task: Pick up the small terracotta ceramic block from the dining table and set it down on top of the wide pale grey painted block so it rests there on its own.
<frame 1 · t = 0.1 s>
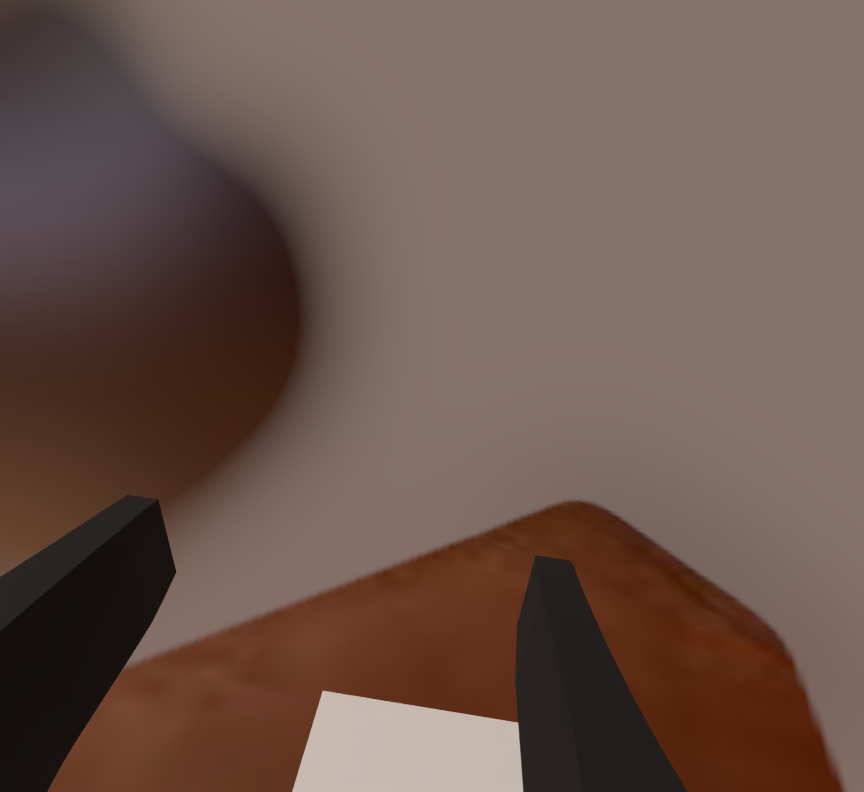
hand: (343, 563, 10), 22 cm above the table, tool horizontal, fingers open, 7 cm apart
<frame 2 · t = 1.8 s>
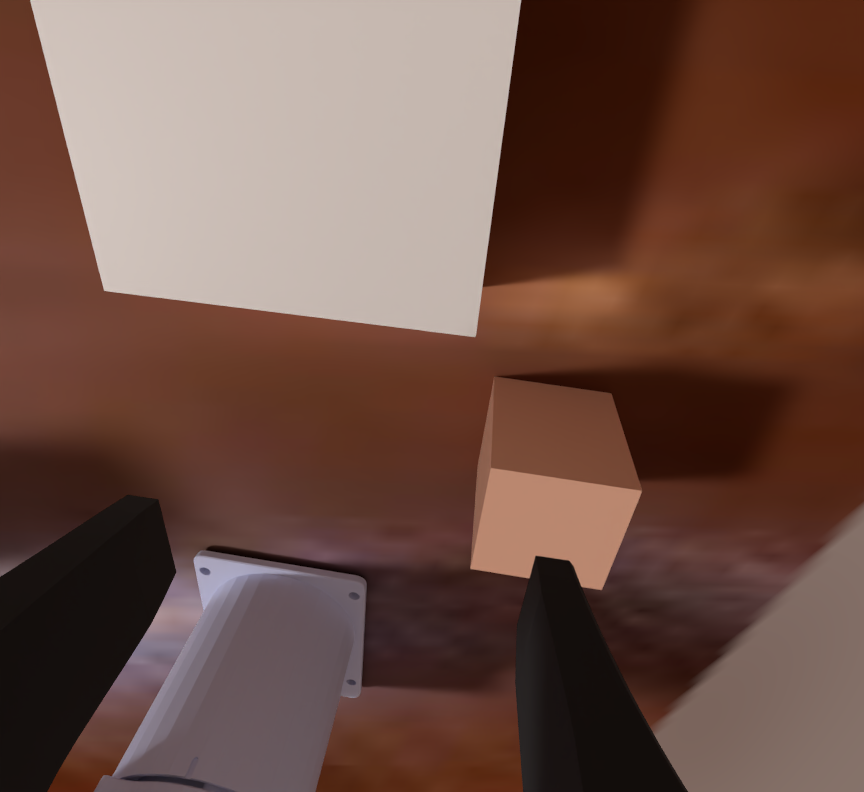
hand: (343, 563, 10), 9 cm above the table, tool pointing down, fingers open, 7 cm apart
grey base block: (324, 89, 15), on the table
terracotta block: (540, 431, 20), on the table
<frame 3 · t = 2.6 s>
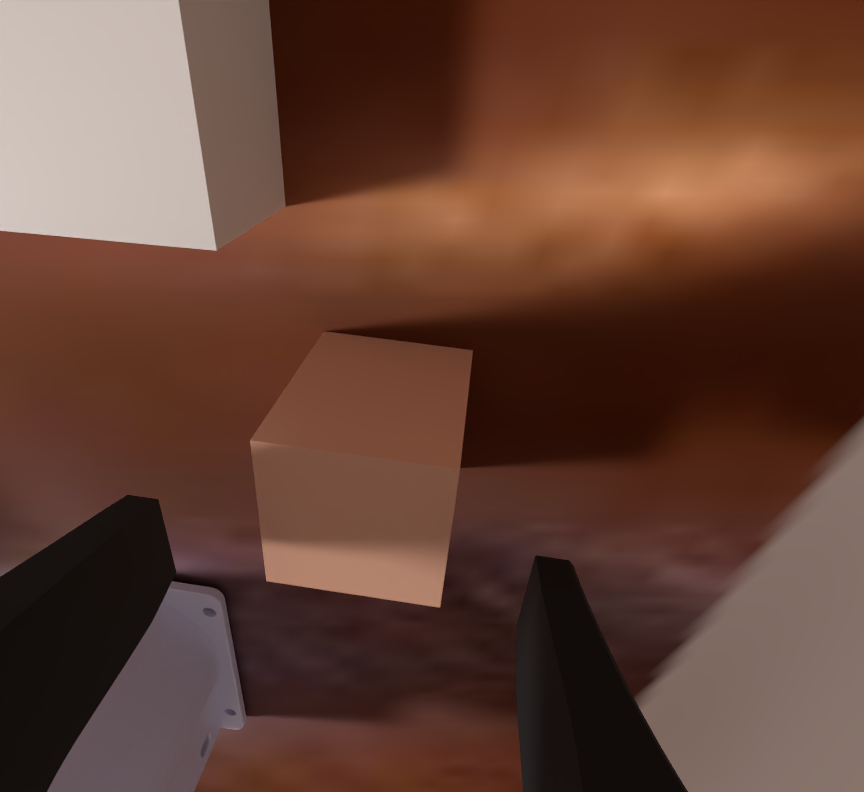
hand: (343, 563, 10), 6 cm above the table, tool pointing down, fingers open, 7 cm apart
terracotta block: (394, 403, 15), on the table
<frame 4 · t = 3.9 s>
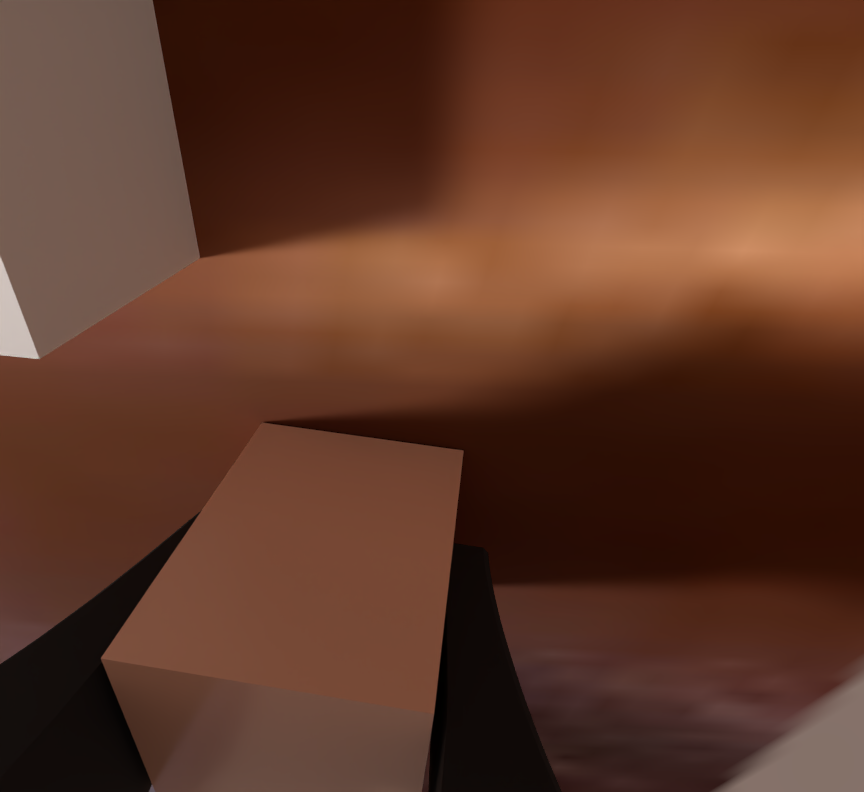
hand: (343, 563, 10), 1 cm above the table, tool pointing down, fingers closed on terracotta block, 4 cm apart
terracotta block: (360, 511, 12), on the table, touching gripper
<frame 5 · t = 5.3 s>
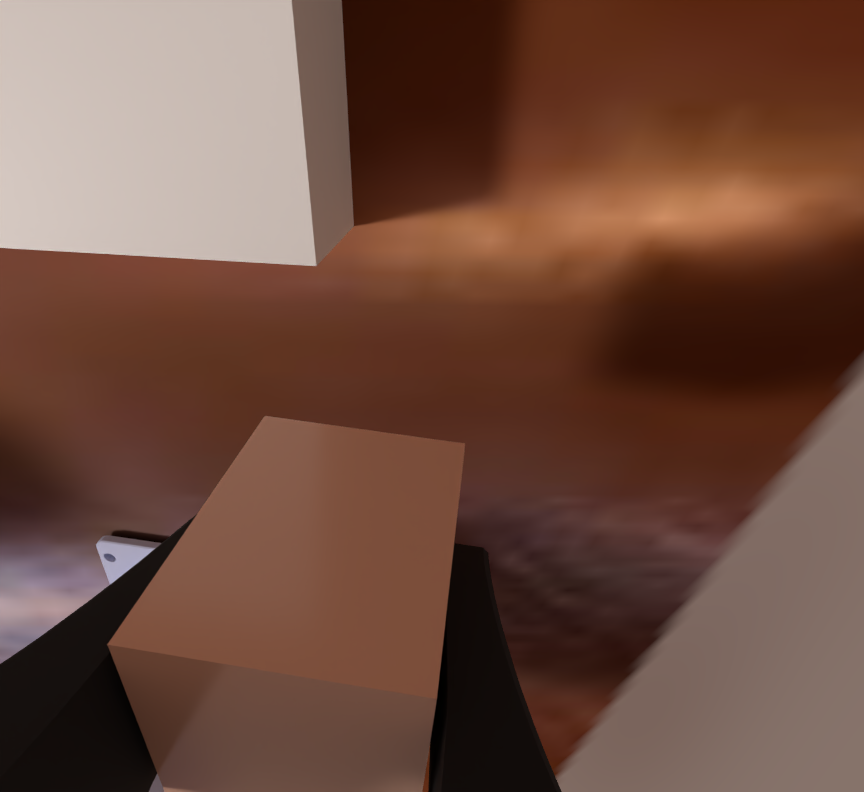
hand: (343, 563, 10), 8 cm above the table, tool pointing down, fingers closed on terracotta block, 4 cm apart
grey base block: (151, 11, 14), on the table
terracotta block: (362, 504, 12), point 7 cm above the table, touching gripper
when the fingers open (7 cm above the table, at t = 6.8 s): terracotta block drops 1 cm, resting on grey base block.
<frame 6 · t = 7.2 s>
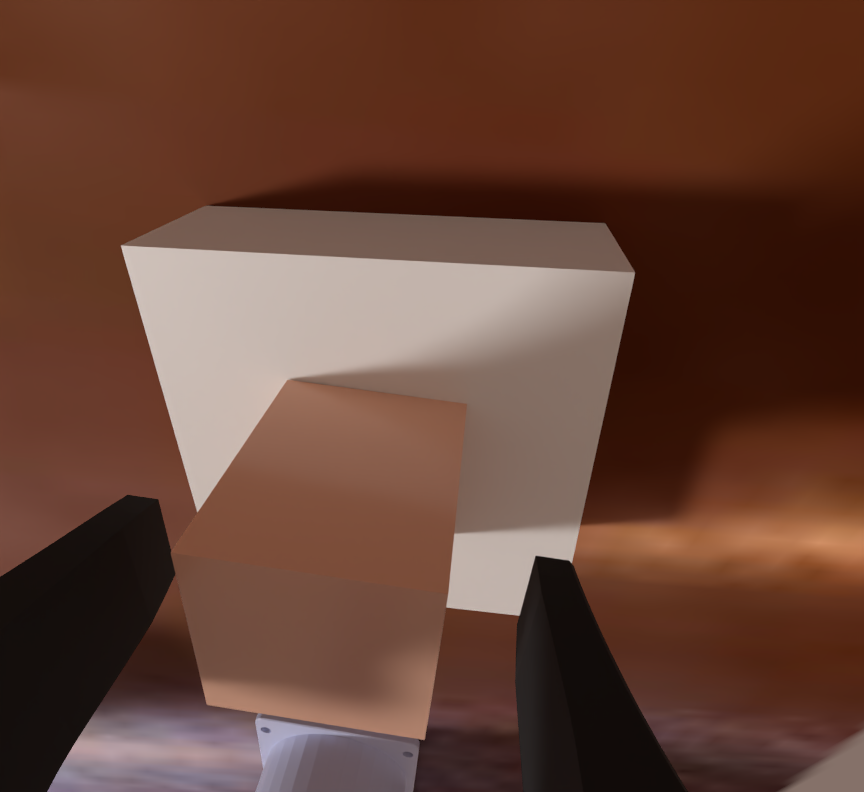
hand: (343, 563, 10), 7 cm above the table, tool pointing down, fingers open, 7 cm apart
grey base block: (403, 381, 16), on the table, touching terracotta block
terracotta block: (373, 462, 13), point 4 cm above the table, touching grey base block
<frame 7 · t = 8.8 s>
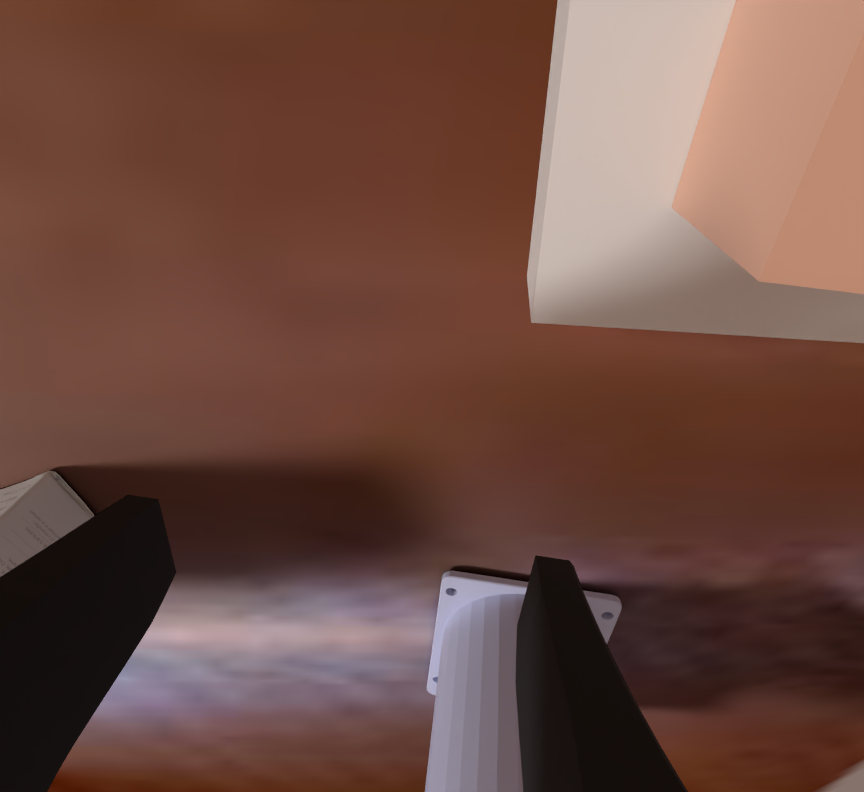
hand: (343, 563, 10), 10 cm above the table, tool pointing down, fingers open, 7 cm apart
skincare box: (41, 528, 27), on the table
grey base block: (735, 101, 14), on the table, touching terracotta block
terracotta block: (800, 118, 11), point 4 cm above the table, touching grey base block
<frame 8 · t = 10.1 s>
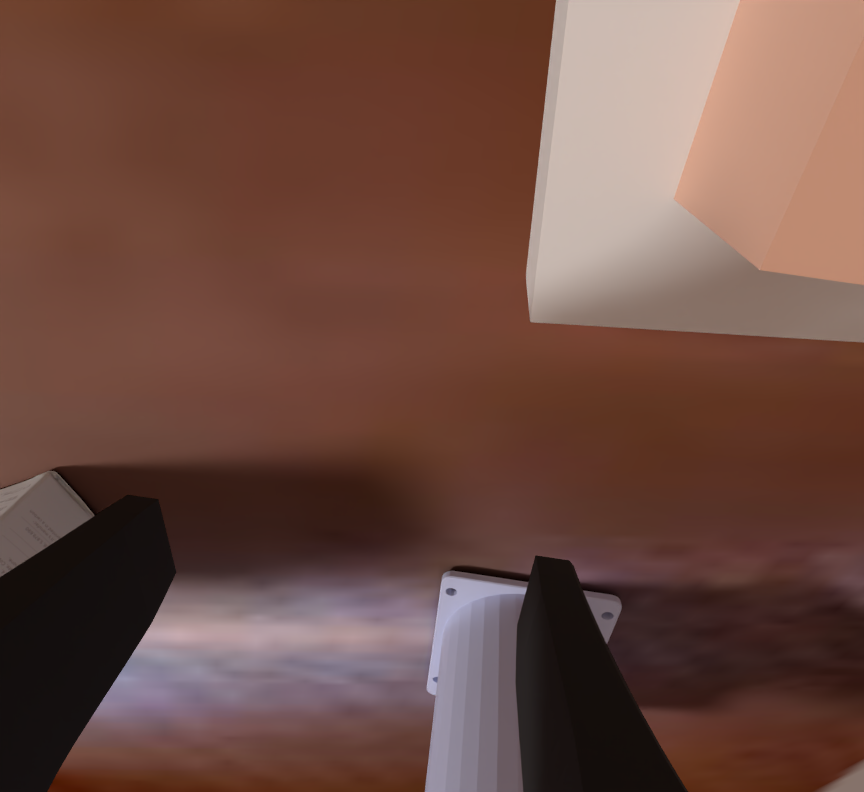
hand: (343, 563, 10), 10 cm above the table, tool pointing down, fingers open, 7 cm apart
skincare box: (40, 528, 27), on the table
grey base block: (734, 100, 14), on the table, touching terracotta block
terracotta block: (805, 111, 11), point 4 cm above the table, touching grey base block
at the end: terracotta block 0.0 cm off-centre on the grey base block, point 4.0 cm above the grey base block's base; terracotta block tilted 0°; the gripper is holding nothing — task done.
